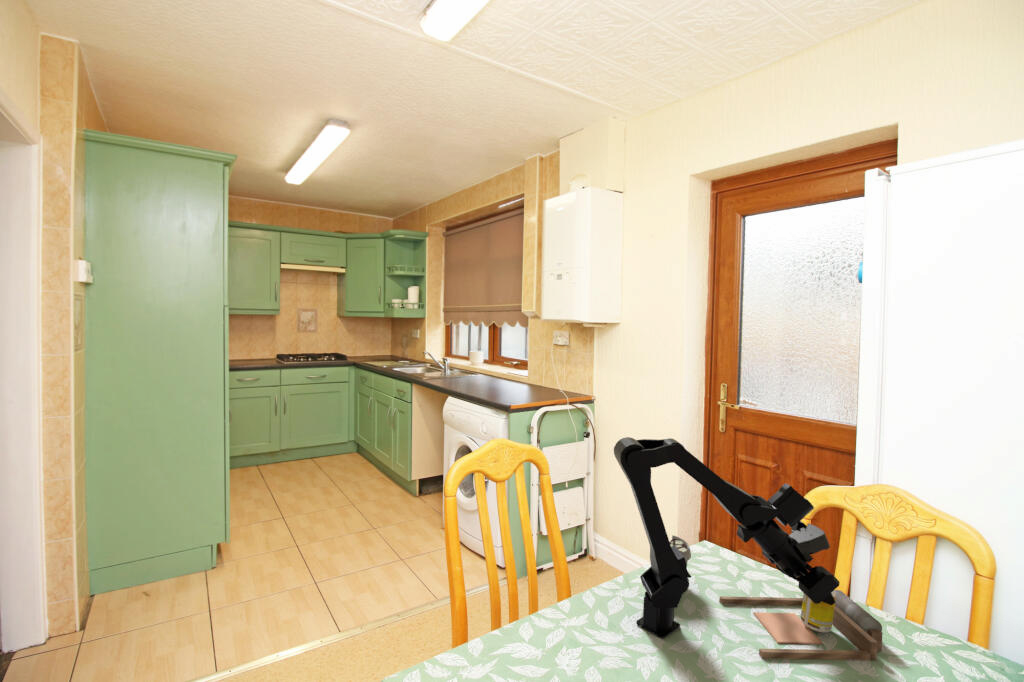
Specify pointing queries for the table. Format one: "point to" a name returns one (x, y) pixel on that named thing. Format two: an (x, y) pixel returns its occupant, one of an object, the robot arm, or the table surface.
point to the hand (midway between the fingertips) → (824, 595)
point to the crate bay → (793, 631)
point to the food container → (681, 547)
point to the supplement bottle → (817, 614)
